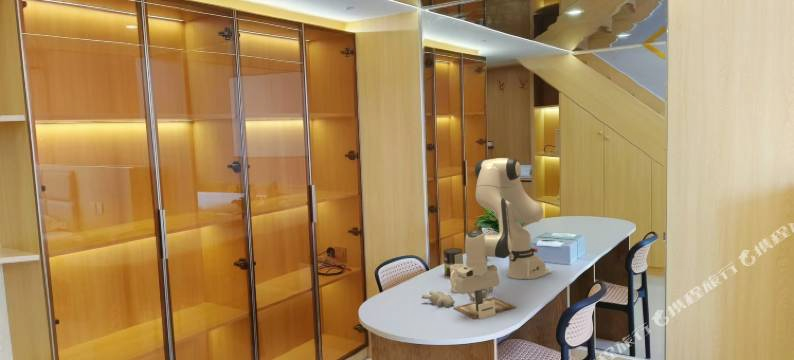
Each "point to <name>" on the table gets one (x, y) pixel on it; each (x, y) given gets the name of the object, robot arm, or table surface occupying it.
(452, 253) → the coffee can
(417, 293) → the table surface
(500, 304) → the picture frame
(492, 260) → the table surface
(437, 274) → the table surface
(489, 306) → the word card
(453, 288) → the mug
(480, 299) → the marker
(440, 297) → the bunny figurine
